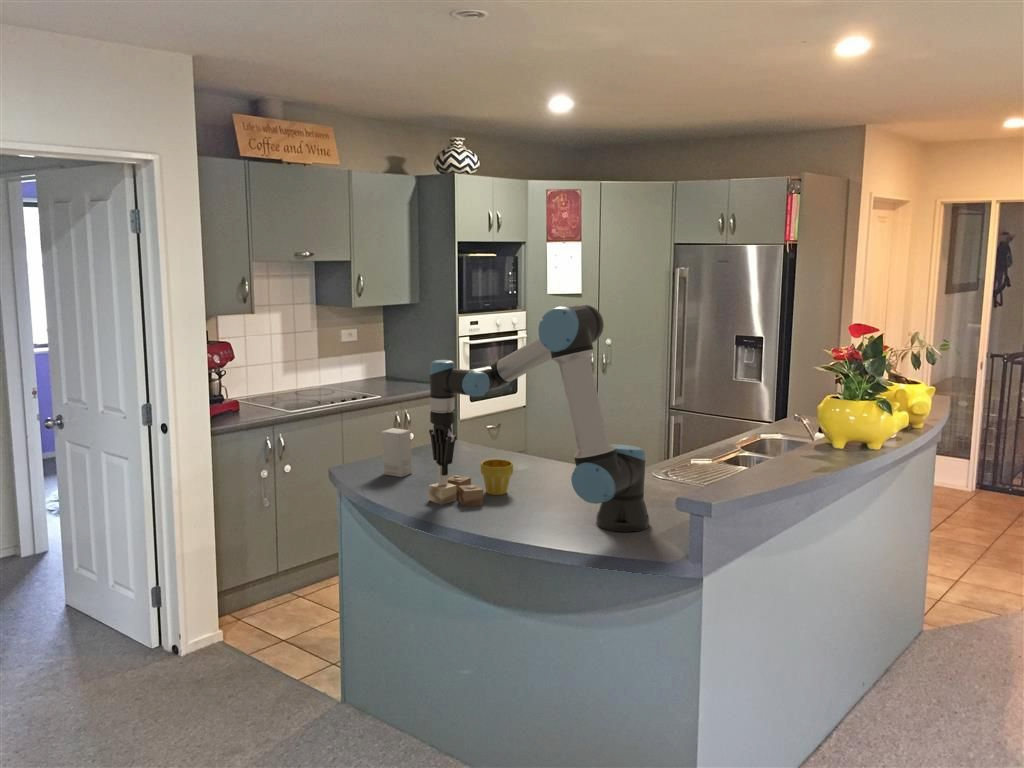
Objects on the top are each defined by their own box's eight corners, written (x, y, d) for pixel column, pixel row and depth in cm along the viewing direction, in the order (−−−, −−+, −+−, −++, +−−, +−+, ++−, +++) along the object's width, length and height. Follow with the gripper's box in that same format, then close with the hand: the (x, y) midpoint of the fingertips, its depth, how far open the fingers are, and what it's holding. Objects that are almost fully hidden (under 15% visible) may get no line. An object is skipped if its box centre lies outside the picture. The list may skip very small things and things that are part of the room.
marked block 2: (483, 505, 265) (483, 488, 264) (464, 507, 263) (464, 490, 262) (477, 499, 271) (477, 483, 270) (458, 501, 269) (458, 485, 268)
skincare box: (412, 473, 299) (412, 430, 297) (400, 478, 294) (399, 433, 291) (393, 470, 304) (393, 427, 301) (381, 474, 298) (380, 430, 296)
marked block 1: (470, 492, 278) (470, 477, 277) (460, 497, 273) (460, 481, 272) (455, 489, 281) (455, 474, 280) (445, 494, 276) (444, 478, 275)
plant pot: (509, 498, 272) (509, 468, 271) (477, 495, 274) (477, 466, 273) (515, 488, 282) (515, 460, 281) (484, 486, 284) (485, 458, 283)
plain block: (456, 500, 269) (456, 485, 268) (441, 504, 265) (441, 489, 264) (443, 496, 273) (443, 481, 273) (429, 500, 269) (429, 485, 268)
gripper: (463, 412, 261) (463, 487, 265) (442, 405, 272) (442, 477, 276) (442, 415, 257) (442, 491, 261) (421, 408, 268) (422, 481, 271)
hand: (442, 484), depth 268 cm, fingers closed
